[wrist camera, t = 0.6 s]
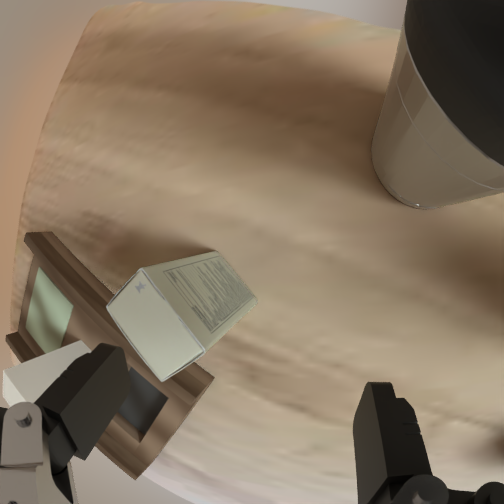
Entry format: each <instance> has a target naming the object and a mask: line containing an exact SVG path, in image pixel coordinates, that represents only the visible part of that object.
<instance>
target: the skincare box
mask: <svg viewBox="0 0 504 504" xmlns="http://www.w3.org/2000/svg"><path fill="white" fill-rule="evenodd" d="M257 302H258V301H257V299H256V298H255V296H254V295H253V294H252V292H251V291H250V290H249V289H248V287H247V286H246V285H245V284H244V282H243V281H242V280H241V279H240V278H239V276H238V275H237V274H236V273H235V271H234V270H233V269H232V268H231V267H230V265H229V264H228V263H227V262H226V261H225V260H224V258H223V257H222V256H221V255H220V254H219V253H218V252H217V251H213V252H208V253H204V254H199V255H195V256H190V257H186V258H181V259H177V260H173V261H168V262H164V263H160V264H155V265H151V266H146V267H142V268H140V269H139V270H138V271H137V272H136V273H135V274H134V275H133V276H132V277H131V278H130V279H129V280H128V281H127V282H126V283H125V285H124V286H123V287H122V288H121V289H120V290H119V291H118V292H117V293H116V295H115V296H114V297H113V298H112V300H111V301H110V302H109V303H108V305H107V306H106V308H107V310H108V312H109V313H110V315H111V317H112V318H113V320H114V321H115V323H116V324H117V326H118V327H119V329H120V330H121V332H122V333H123V334H124V336H125V337H126V338H127V340H128V341H129V342H130V344H131V345H132V346H133V348H134V349H135V350H136V352H137V353H138V354H139V356H140V357H141V358H142V359H143V361H144V362H145V363H146V364H147V366H148V367H149V368H150V369H151V370H152V371H153V373H154V374H155V375H156V376H157V377H158V379H159V380H160V381H161V382H163V381H165V380H167V379H168V378H170V377H171V376H173V375H175V374H176V373H178V372H179V371H181V370H182V369H184V368H185V367H187V366H188V365H190V364H191V363H193V362H194V361H195V360H197V359H198V358H200V357H201V356H202V355H204V354H205V353H206V352H207V351H208V350H209V349H210V348H211V347H212V346H213V345H214V344H215V343H216V342H217V341H218V340H220V339H221V338H222V337H223V336H224V335H225V334H226V333H227V332H228V331H229V330H230V329H231V328H232V327H233V326H234V325H235V324H236V323H237V322H238V321H239V320H240V319H241V318H242V317H244V316H245V315H246V314H247V313H248V312H249V311H250V310H251V309H252V308H253V307H254V306H255V305H256V304H257Z"/></svg>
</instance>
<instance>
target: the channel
mask: <svg viewBox="0 0 504 504" xmlns="http://www.w3.org/2000/svg"><path fill="white" fill-rule="evenodd" d="M24 242H25V243H26V245H27V246H28V247H29V248H30V250H31V251H32V252H33V254H34V257H33V261H32V264H31V268H30V272H29V277H28V281H27V285H26V290H25V295H24V299H23V305H22V310H21V315H20V321H19V328H18V332H15V333H11V334H8V335H6V342H7V343H8V345H9V346H10V348H11V349H12V351H13V352H14V354H15V355H16V356H17V358H18V359H19V361H20V362H21V363H24V362H26V361H29V360H31V359H34V358H36V357H39V356H42V355H44V354H47V353H49V352H52V351H54V350H57V349H59V348H62V347H64V346H67V345H69V344H72V343H74V342H77V341H79V340H82V341H83V342H84V344H85V345H86V346H87V347H88V348H89V349H90V350H91V351H93V350H94V349H95V348H96V346H97V345H98V344H100V343H107V344H111V345H115V346H118V347H121V348H122V349H123V350H124V353H125V358H126V363H127V367H128V371H129V376H130V380H131V387H130V392H129V394H128V396H127V398H126V400H125V401H124V402H123V404H122V405H121V407H120V408H119V410H118V411H117V413H116V414H115V416H114V417H113V419H112V420H111V422H110V423H109V425H108V426H107V428H106V429H105V431H104V432H103V434H102V435H101V437H100V438H99V440H98V442H97V443H96V445H95V446H96V447H97V448H98V449H99V450H100V451H101V452H102V453H103V454H104V455H105V456H107V457H108V458H109V459H110V460H111V461H112V462H114V463H115V464H116V465H117V466H119V468H121V469H122V470H123V471H124V472H125V473H127V474H128V475H129V476H130V477H132V478H133V479H134V480H136V479H137V478H138V477H139V476H140V475H141V474H142V473H143V472H144V471H145V470H146V469H147V468H148V467H149V466H150V464H151V463H152V462H153V461H154V460H155V458H156V457H157V456H158V454H159V453H160V452H161V451H162V449H163V448H164V447H165V445H166V444H167V443H168V441H169V440H170V439H171V437H172V436H173V435H174V433H175V432H176V431H177V429H178V428H179V426H180V425H181V424H182V422H183V421H184V420H185V418H186V417H187V416H188V414H189V413H190V411H191V410H192V409H193V407H194V406H195V405H196V403H197V402H198V400H199V399H200V398H201V396H202V395H203V394H204V392H205V391H206V389H207V388H208V387H209V385H210V384H211V382H212V381H213V379H214V377H213V376H212V375H210V374H209V373H208V372H206V371H205V370H204V369H202V368H201V367H200V366H198V365H197V364H196V363H194V362H193V363H191V364H190V365H188V366H187V367H185V368H184V369H182V370H181V371H179V372H178V373H176V374H175V375H173V376H171V377H170V378H168V379H167V380H165V381H163V382H161V381H160V380H159V379H158V377H157V376H156V375H155V374H154V373H153V371H152V370H151V369H150V368H149V367H148V366H147V364H146V363H145V362H144V361H143V359H142V358H141V357H140V356H139V354H138V353H137V352H136V350H135V349H134V348H133V346H132V345H131V344H130V342H129V341H128V340H127V338H126V337H125V336H124V334H123V333H122V332H121V330H120V329H119V327H118V326H117V324H116V323H115V321H114V320H113V318H112V317H111V315H110V313H109V312H108V310H107V308H106V306H107V305H108V303H109V302H110V301H111V300H112V298H113V297H114V296H115V295H114V294H113V293H112V292H111V291H110V290H109V289H107V288H106V287H105V286H104V285H103V284H102V283H101V282H100V281H99V280H98V279H97V278H96V277H95V276H94V275H93V274H92V273H91V272H90V271H89V270H88V269H87V268H86V267H85V266H84V265H83V264H82V263H81V262H80V261H79V260H78V259H77V258H76V257H75V256H74V255H73V254H72V253H71V252H70V251H69V250H68V249H67V248H66V247H65V246H64V245H63V243H62V242H61V241H60V240H59V239H58V238H57V237H56V236H55V235H54V234H53V233H52V232H31V233H26V234H25V238H24Z"/></svg>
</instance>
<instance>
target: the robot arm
mask: <svg viewBox="0 0 504 504" xmlns="http://www.w3.org/2000/svg"><path fill="white" fill-rule="evenodd" d="M371 153H372V162H373V165H374V169H375V172H376V174H377V176H378V178H379V180H380V182H381V183H382V184H383V186H384V187H385V188H386V190H387V191H388V192H389V193H390V194H391V195H392V196H394V197H395V198H396V199H397V200H399V201H401V202H402V203H404V204H406V205H409V206H411V207H414V208H419V209H435V208H439V207H444V206H448V205H453V204H457V203H462V202H466V201H470V200H474V199H478V198H483V197H487V196H491V195H495V194H499V193H504V0H407V6H406V11H405V16H404V21H403V25H402V30H401V34H400V39H399V43H398V47H397V53H396V57H395V61H394V65H393V69H392V73H391V77H390V81H389V84H388V88H387V92H386V95H385V99H384V102H383V106H382V109H381V113H380V116H379V119H378V123H377V126H376V129H375V133H374V136H373V139H372V147H371ZM130 387H131V380H130V376H129V371H128V367H127V363H126V358H125V353H124V350H123V349H122V348H121V347H118V346H115V345H111V344H107V343H100V344H98V345H97V346H96V348H95V349H94V350H93V351H92V352H91V353H86V354H84V355H82V356H80V357H78V358H76V359H75V360H74V361H73V362H72V363H71V364H70V365H69V366H68V367H67V370H64V371H63V372H62V373H61V374H60V377H58V378H57V379H56V380H55V381H54V382H53V383H52V384H51V385H50V386H49V387H48V388H47V389H46V390H45V391H44V392H43V394H42V395H41V396H40V397H39V398H38V399H37V400H36V401H35V402H34V403H31V402H19V403H16V404H14V405H12V406H11V407H10V408H9V409H7V408H2V407H0V504H79V503H78V499H77V494H76V489H75V483H74V478H73V472H72V466H71V463H70V459H71V458H72V456H73V455H74V456H76V457H78V458H80V459H83V460H86V458H87V457H88V455H89V454H90V452H91V451H92V449H93V447H94V446H95V445H96V443H97V442H98V440H99V438H100V437H101V435H102V434H103V432H104V431H105V429H106V428H107V426H108V425H109V423H110V422H111V420H112V419H113V417H114V416H115V414H116V413H117V411H118V410H119V408H120V407H121V405H122V404H123V402H124V401H125V400H126V398H127V396H128V394H129V392H130ZM417 422H418V421H417V418H416V415H415V412H414V409H413V408H412V406H411V405H410V404H409V403H408V402H407V401H406V399H405V398H396V396H395V393H394V389H393V386H392V384H391V383H390V382H368V383H367V384H366V386H365V388H364V391H363V394H362V397H361V400H360V402H359V405H358V408H357V411H356V413H355V417H354V422H353V437H354V448H355V460H356V474H357V490H358V504H504V484H502V483H500V482H489V483H486V484H484V485H483V486H482V487H480V488H479V489H478V490H477V491H476V492H469V491H458V490H451V489H448V488H447V486H446V485H445V483H444V482H443V481H442V480H440V479H439V478H437V477H435V476H433V474H432V472H431V468H430V464H429V460H428V456H427V453H426V449H425V445H424V442H423V438H422V435H420V432H421V431H420V428H419V425H418V424H417Z"/></svg>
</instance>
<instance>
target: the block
mask: <svg viewBox="0 0 504 504" xmlns="http://www.w3.org/2000/svg"><path fill="white" fill-rule="evenodd" d="M91 352H92V351H91V350H90V349H89V348H88V347H87V346H86V345H85V344H84V342H83V341H82V340H79V341H77V342H74V343H72V344H69V345H67V346H64V347H62V348H59V349H57V350H54V351H52V352H49V353H47V354H44V355H42V356H39V357H36V358H34V359H31V360H29V361H26V362H24V363H21V364H19V365H16V366H13V367H11V368H8V369H6V370H4V371H3V397H4V399H5V400H6V401H7V403H8V404H9V406H10V407H11V406H12V405H14V404H16V403H19V402H31V403H34V402H35V401H36V400H37V399H38V398H39V397H40V396H41V395H42V394H43V392H44V391H45V390H46V389H47V388H48V387H49V386H50V385H51V384H52V383H53V382H54V381H55V380H56V379H57V378H58V377H60V374H61V373H62V372H63V371H64V370H67V367H68V366H69V365H70V364H71V363H72V362H73V361H74V360H75V359H76V358H78V357H80V356H82V355H84V354H86V353H91Z"/></svg>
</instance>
